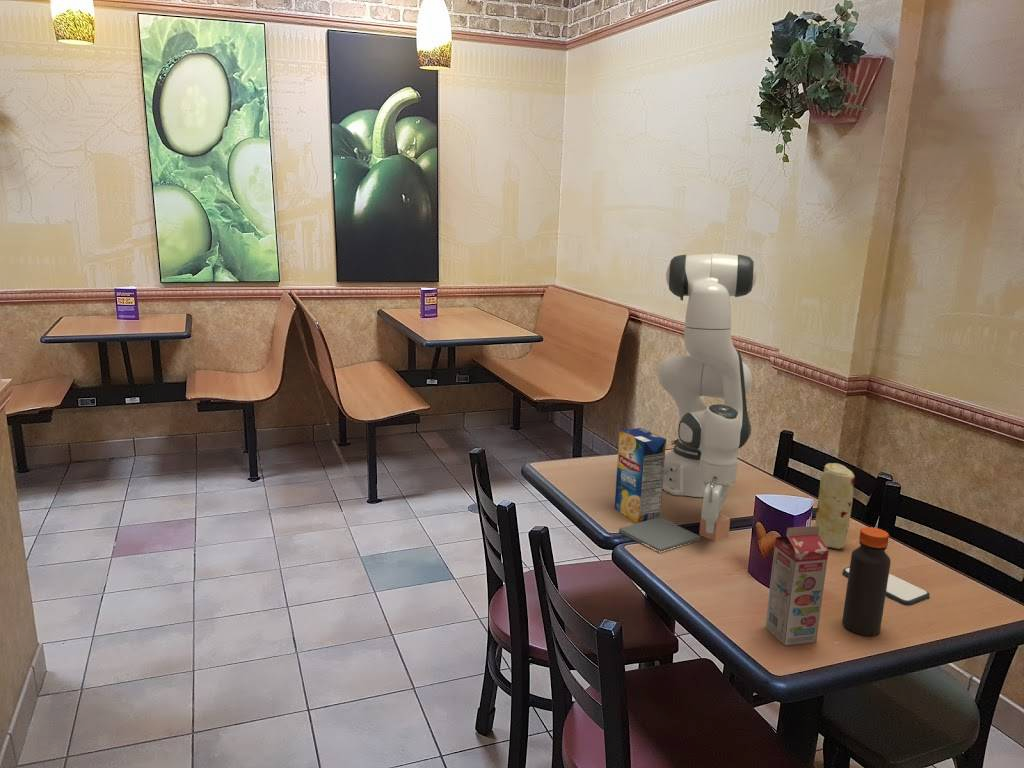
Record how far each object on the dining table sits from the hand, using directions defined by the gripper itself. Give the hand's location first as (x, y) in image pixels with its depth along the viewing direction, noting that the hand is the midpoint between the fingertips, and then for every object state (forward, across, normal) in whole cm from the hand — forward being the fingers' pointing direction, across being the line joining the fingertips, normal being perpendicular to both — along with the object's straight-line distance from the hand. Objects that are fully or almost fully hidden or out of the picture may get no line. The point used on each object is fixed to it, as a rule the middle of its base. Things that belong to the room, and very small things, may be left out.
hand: (712, 525), depth 185 cm
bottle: (+4, -31, -33) cm, 45 cm away
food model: (+3, +9, -27) cm, 28 cm away
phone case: (+4, -9, -38) cm, 40 cm away
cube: (+3, 0, 0) cm, 3 cm away
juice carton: (+4, -39, -20) cm, 44 cm away
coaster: (+3, -6, +12) cm, 14 cm away
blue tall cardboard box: (+3, +5, +20) cm, 21 cm away
